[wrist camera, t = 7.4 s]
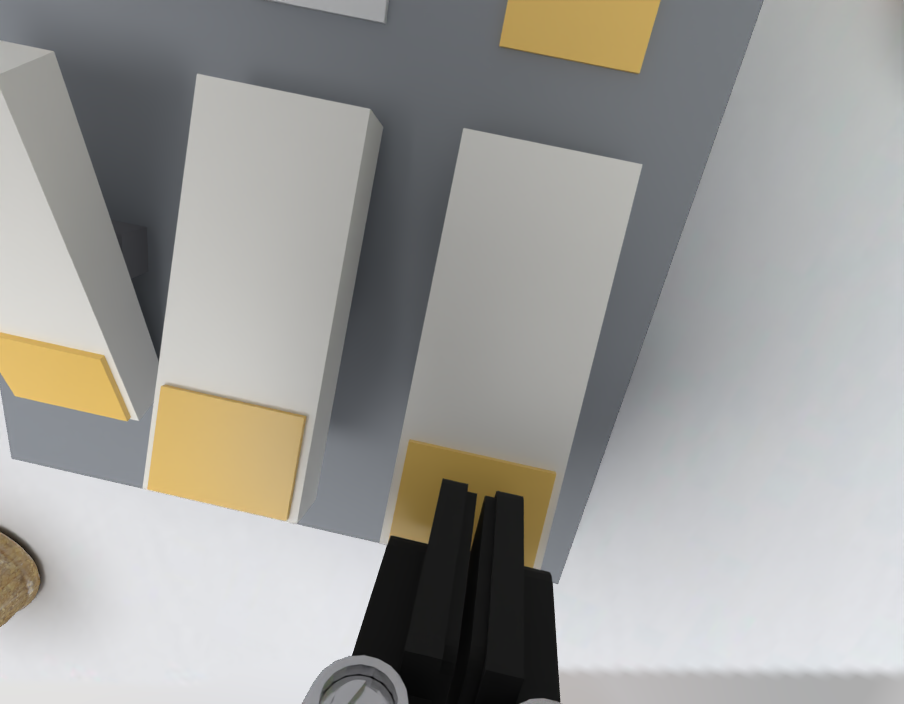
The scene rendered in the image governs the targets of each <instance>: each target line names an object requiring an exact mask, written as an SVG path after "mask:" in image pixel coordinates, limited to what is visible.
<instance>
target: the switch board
mask: <svg viewBox="0 0 904 704" xmlns="http://www.w3.org/2000/svg"><path fill="white" fill-rule="evenodd" d="M763 1H764V0H0V40H1V41H6V42H11V43H16V44H21V45H26V46H30V47H35V48H40V49H45V50H50V51H54V53H55V56H56V59H57V62H58V65H59V67H60V70H61V73H62V76H63V79H64V82H65V85H66V88H67V91H68V94H69V97H70V100H71V103H72V106H73V109H74V112H75V115H76V118H77V121H78V124H79V127H80V130H81V133H82V136H83V139H84V142H85V145H86V148H87V151H88V154H89V156H90V159H91V162H92V165H93V168H94V171H95V174H96V177H97V180H98V183H99V186H100V189H101V192H102V195H103V198H104V201H105V204H106V207H107V210H108V213H109V216H110V219H111V222H112V225H113V228H114V231H115V234H116V237H117V240H118V243H119V245H120V248H121V251H122V254H123V257H124V260H125V263H126V266H127V269H128V272H129V275H130V278H131V281H132V284H133V287H134V290H135V293H136V296H137V299H138V302H139V305H140V308H141V311H142V314H143V317H144V320H145V323H146V326H147V329H148V331H149V334H150V337H151V340H152V343H153V346H154V349H155V352H156V355H157V358H158V361H159V358H160V350H161V343H162V335H163V328H164V320H165V312H166V305H167V297H168V290H169V282H170V274H171V267H172V259H173V251H174V244H175V236H176V229H177V221H178V213H179V206H180V198H181V190H182V183H183V175H184V168H185V160H186V152H187V145H188V137H189V129H190V122H191V114H192V107H193V99H194V91H195V84H196V76H197V74H202V75H207V76H211V77H216V78H221V79H226V80H231V81H236V82H241V83H246V84H251V85H256V86H261V87H265V88H270V89H275V90H280V91H285V92H290V93H295V94H300V95H305V96H310V97H315V98H319V99H324V100H329V101H334V102H339V103H344V104H349V105H354V106H359V107H364V108H368V109H371V110H372V112H373V113H374V115H375V116H376V117H377V119H378V120H379V122H380V123H381V124H382V126H383V132H382V137H381V143H380V148H379V154H378V159H377V165H376V170H375V176H374V181H373V187H372V192H371V198H370V203H369V209H368V214H367V220H366V225H365V231H364V236H363V242H362V247H361V253H360V258H359V264H358V269H357V275H356V280H355V286H354V291H353V297H352V302H351V308H350V313H349V319H348V324H347V330H346V335H345V341H344V346H343V352H342V357H341V363H340V368H339V374H338V379H337V385H336V390H335V396H334V401H333V407H332V412H331V418H330V423H329V429H328V434H327V440H326V445H325V451H324V456H323V462H322V467H321V473H320V478H319V484H318V489H317V495H316V499H315V501H314V502H313V503H312V505H311V506H310V507H309V509H308V510H307V511H306V513H305V514H304V515H303V517H302V518H301V519H300V520H299V522H298V523H297V524H299V525H303V526H308V527H312V528H316V529H321V530H325V531H329V532H334V533H338V534H342V535H347V536H351V537H356V538H360V539H364V540H369V541H373V542H377V543H379V542H380V537H381V532H382V527H383V522H384V517H385V512H386V507H387V502H388V497H389V492H390V487H391V483H392V478H393V473H394V468H395V463H396V458H397V453H398V448H399V443H400V438H401V433H402V428H403V423H404V418H405V413H406V409H407V404H408V399H409V394H410V389H411V384H412V379H413V374H414V369H415V364H416V359H417V354H418V349H419V344H420V339H421V335H422V330H423V325H424V320H425V315H426V310H427V305H428V300H429V295H430V290H431V285H432V280H433V275H434V270H435V265H436V261H437V256H438V251H439V246H440V241H441V236H442V231H443V226H444V221H445V216H446V211H447V206H448V201H449V196H450V191H451V187H452V182H453V177H454V172H455V167H456V162H457V157H458V152H459V147H460V142H461V137H462V132H463V128H467V129H472V130H476V131H481V132H486V133H491V134H496V135H501V136H506V137H511V138H516V139H521V140H526V141H530V142H535V143H540V144H545V145H550V146H555V147H560V148H565V149H570V150H575V151H580V152H584V153H589V154H594V155H599V156H604V157H609V158H614V159H619V160H624V161H629V162H634V163H638V164H643V165H642V169H641V173H640V177H639V181H638V185H637V189H636V192H635V196H634V200H633V204H632V208H631V212H630V216H629V220H628V224H627V228H626V232H625V236H624V240H623V244H622V248H621V252H620V256H619V260H618V264H617V268H616V272H615V276H614V280H613V284H612V288H611V292H610V296H609V300H608V304H607V308H606V312H605V316H604V320H603V324H602V327H601V331H600V335H599V339H598V343H597V347H596V351H595V355H594V359H593V363H592V367H591V371H590V375H589V379H588V383H587V387H586V391H585V395H584V399H583V403H582V407H581V411H580V415H579V419H578V423H577V427H576V431H575V435H574V439H573V443H572V447H571V451H570V455H569V458H568V462H567V466H566V470H565V474H564V478H563V482H562V486H561V490H560V494H559V498H558V502H557V506H556V510H555V514H554V518H553V522H552V526H551V530H550V534H549V538H548V542H547V546H546V550H545V554H544V558H543V562H542V566H541V570H543V571H548V572H550V573H551V575H552V582H553V583H556V584H558V583H559V580H560V577H561V574H562V571H563V568H564V566H565V563H566V560H567V557H568V554H569V551H570V548H571V546H572V543H573V540H574V537H575V534H576V531H577V529H578V526H579V523H580V520H581V517H582V514H583V512H584V509H585V506H586V503H587V500H588V497H589V495H590V492H591V489H592V486H593V483H594V480H595V478H596V475H597V472H598V469H599V466H600V463H601V461H602V458H603V455H604V452H605V449H606V446H607V443H608V441H609V438H610V435H611V432H612V429H613V426H614V424H615V421H616V418H617V415H618V412H619V409H620V407H621V404H622V401H623V398H624V395H625V392H626V390H627V387H628V384H629V381H630V378H631V375H632V373H633V370H634V367H635V364H636V361H637V358H638V356H639V353H640V350H641V347H642V344H643V341H644V338H645V336H646V333H647V330H648V327H649V324H650V321H651V319H652V316H653V313H654V310H655V307H656V304H657V302H658V299H659V296H660V293H661V290H662V287H663V285H664V282H665V279H666V276H667V273H668V270H669V268H670V265H671V262H672V259H673V256H674V253H675V250H676V248H677V245H678V242H679V239H680V236H681V233H682V231H683V228H684V225H685V222H686V219H687V216H688V214H689V211H690V208H691V205H692V202H693V199H694V197H695V194H696V191H697V188H698V185H699V182H700V180H701V177H702V174H703V171H704V168H705V165H706V163H707V160H708V157H709V154H710V151H711V148H712V145H713V143H714V140H715V137H716V134H717V131H718V128H719V126H720V123H721V120H722V117H723V114H724V111H725V109H726V106H727V103H728V100H729V97H730V94H731V92H732V89H733V86H734V83H735V80H736V77H737V75H738V72H739V69H740V66H741V63H742V60H743V58H744V55H745V52H746V49H747V46H748V43H749V40H750V38H751V35H752V32H753V29H754V26H755V23H756V21H757V18H758V15H759V12H760V9H761V6H762V4H763ZM0 390H1V396H2V402H3V408H4V415H5V421H6V427H7V433H8V439H9V445H10V451H11V457H12V459H16V460H20V461H25V462H29V463H33V464H38V465H42V466H46V467H51V468H55V469H60V470H64V471H68V472H73V473H77V474H81V475H86V476H90V477H94V478H99V479H103V480H107V481H112V482H116V483H120V484H125V485H129V486H134V487H138V488H143V480H144V472H145V465H146V457H147V450H148V442H149V434H150V427H151V419H152V411H153V404H154V402H153V403H152V404H151V406H150V407H149V408H148V409H147V411H146V412H145V413H144V415H143V416H142V417H141V419H140V420H139V421H137V420H132V419H129V420H128V422H127V421H123V420H118V419H114V418H109V417H105V416H100V415H96V414H92V413H87V412H83V411H78V410H74V409H69V408H65V407H61V406H56V405H52V404H47V403H43V402H38V401H34V400H30V399H25V398H21V397H16V396H15V395H14V394H13V392H12V390H11V389H10V387H9V386H8V384H7V383H6V381H5V379H4V378H3V376H2V375H1V373H0Z"/></svg>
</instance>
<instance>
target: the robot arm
mask: <svg viewBox="0 0 904 704" xmlns="http://www.w3.org/2000/svg"><path fill="white" fill-rule="evenodd" d="M476 500H477V493H472V492H468V484H466V483H461V482H457V481H452V480H448V479H444V478H443V479H442V483H441V488H440V492H439V497H438V501H437V506H436V510H435V515H434V519H433V524H432V528H431V533H430V537H429V542H428V544H427V543H422V542H418V541H414V540H409V539H405V538H401V537H396V536H392V535H391V536H390V538H389V541H388V544H387V547H386V550H385V554H384V557H383V560H382V563H381V566H380V569H379V572H378V576H377V579H376V582H375V585H374V588H373V591H372V594H371V598H370V601H369V604H368V607H367V610H366V613H365V616H364V620H363V623H362V626H361V629H360V632H359V635H358V638H357V642H356V645H355V648H354V651H353V654H352V656H348V657H345V658H343V659H340V660H337V661H335V662H333V663H332V664H330V665H329V666H328V667H326V668H325V669H324V670H322V672H321V673H320V674H319V676H318V677H317V678H316V680H315V681H314V682H313V684H312V686H311V688H310V690H309V692H308V693H307V695H306V697H305V699H304V700H303V702H302V704H561V703H560V690H559V674H558V659H557V643H556V628H555V612H554V597H553V582H552V575H551V573H550V572H548V571H543V570H539V569H535V568H530V567H526V566H524V498H523V496H519V495H514V494H510V493H505V492H501V491H496V494H495V497H490V496H486V495H485V497H484V501H483V504H482V508H481V512H480V516H479V520H478V524H477V528H476V532H475V536H474V539H473V543H472V547H471V542H472V533H473V525H474V517H475V509H476ZM470 550H471V551H470Z"/></svg>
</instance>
